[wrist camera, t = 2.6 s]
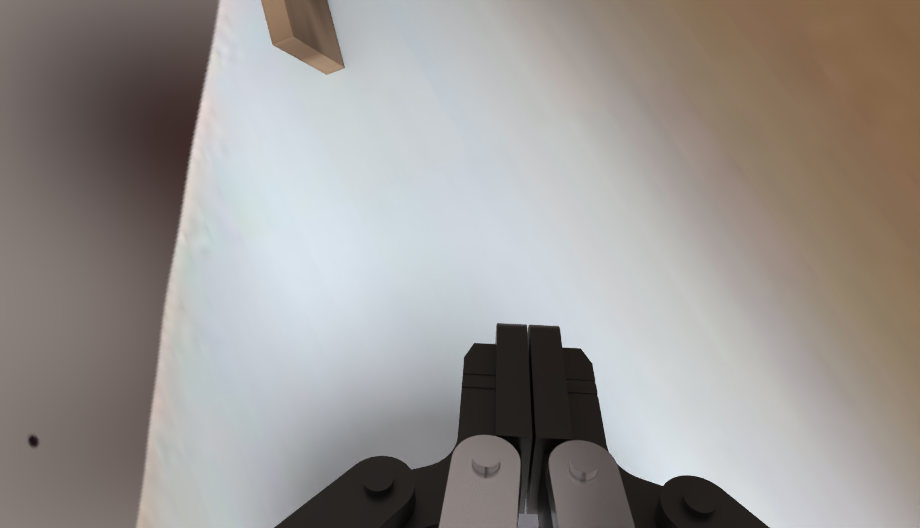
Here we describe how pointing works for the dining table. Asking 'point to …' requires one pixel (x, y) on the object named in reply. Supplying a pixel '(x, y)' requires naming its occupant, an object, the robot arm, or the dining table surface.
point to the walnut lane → (304, 32)
